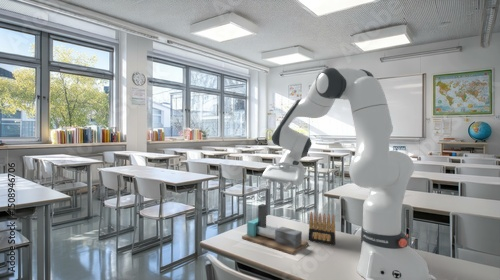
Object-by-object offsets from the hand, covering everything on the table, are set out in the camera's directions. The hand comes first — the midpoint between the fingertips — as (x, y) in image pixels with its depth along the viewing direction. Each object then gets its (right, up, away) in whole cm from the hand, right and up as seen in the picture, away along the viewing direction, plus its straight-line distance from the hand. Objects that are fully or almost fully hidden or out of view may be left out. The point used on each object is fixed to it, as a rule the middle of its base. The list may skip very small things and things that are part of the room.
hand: (275, 189), depth 132 cm
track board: (-1, -19, -12) cm, 23 cm away
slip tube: (-4, -17, -10) cm, 20 cm away
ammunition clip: (+18, -20, -12) cm, 29 cm away
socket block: (-9, -19, -6) cm, 22 cm away
